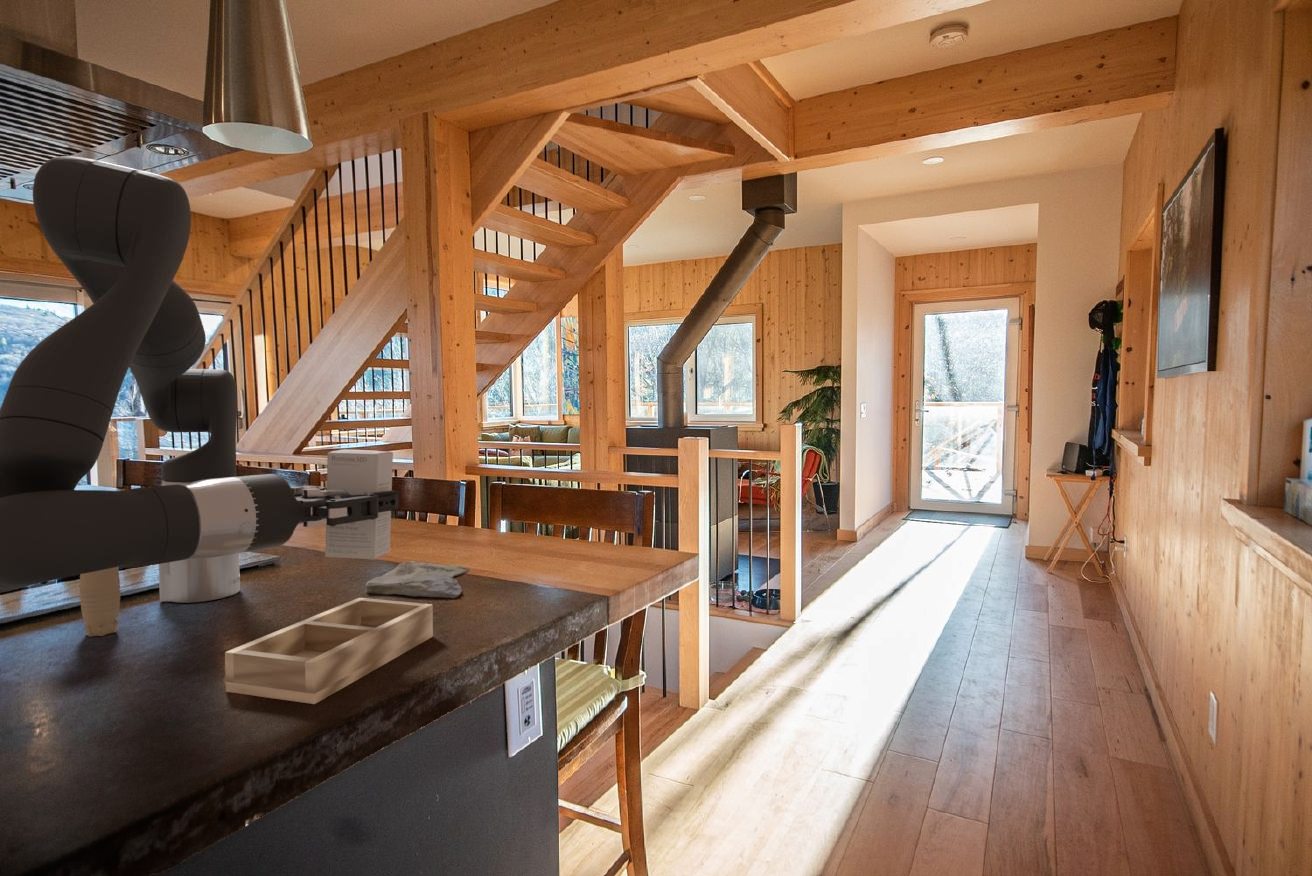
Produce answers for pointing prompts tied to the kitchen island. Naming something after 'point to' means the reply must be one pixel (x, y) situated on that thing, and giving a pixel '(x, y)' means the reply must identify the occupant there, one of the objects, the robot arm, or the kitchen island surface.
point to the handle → (100, 601)
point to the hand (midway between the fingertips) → (375, 497)
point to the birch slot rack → (327, 650)
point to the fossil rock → (419, 580)
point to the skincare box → (355, 476)
